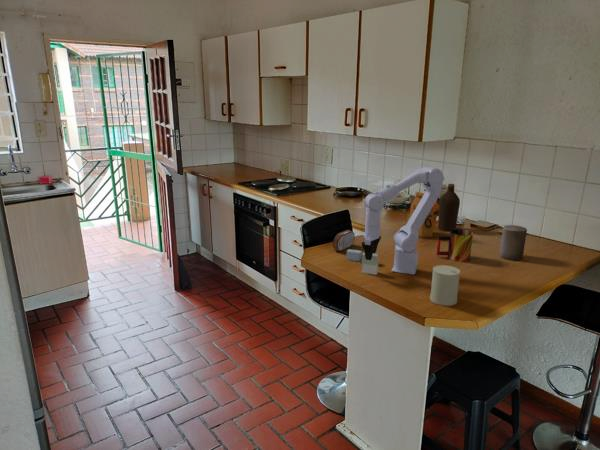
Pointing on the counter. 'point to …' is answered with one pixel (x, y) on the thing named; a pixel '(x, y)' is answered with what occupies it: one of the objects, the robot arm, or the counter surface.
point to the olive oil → (448, 210)
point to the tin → (343, 240)
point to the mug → (457, 245)
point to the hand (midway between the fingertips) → (370, 256)
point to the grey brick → (370, 269)
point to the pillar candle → (513, 242)
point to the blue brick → (353, 255)
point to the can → (445, 285)
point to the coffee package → (428, 224)
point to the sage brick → (370, 262)
